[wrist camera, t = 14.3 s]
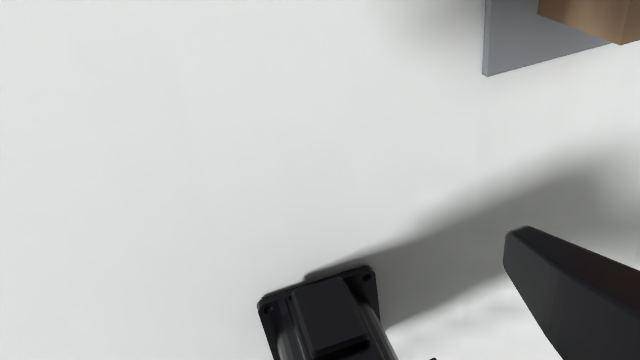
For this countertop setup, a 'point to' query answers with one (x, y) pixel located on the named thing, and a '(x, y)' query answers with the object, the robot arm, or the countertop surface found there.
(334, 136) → the countertop surface
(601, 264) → the robot arm
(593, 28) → the letter cube
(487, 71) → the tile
